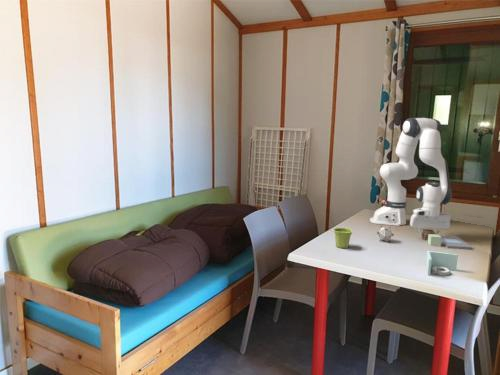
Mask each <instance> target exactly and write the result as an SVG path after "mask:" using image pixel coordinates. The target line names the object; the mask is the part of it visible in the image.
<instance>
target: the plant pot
mask: <svg viewBox="0 0 500 375" xmlns="http://www.w3.org/2000/svg"><path fill="white" fill-rule="evenodd" d="M333 232H334V238H335V246H336V248H339V249H342V248H343V249H348V248H349V244H350V239H351V236H352V233H353V230H352V229H349V228H345V227H336V228H333Z"/></svg>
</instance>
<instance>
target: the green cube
mask: <svg viewBox="0 0 500 375" xmlns="http://www.w3.org/2000/svg"><path fill="white" fill-rule="evenodd" d="M439 235H440V234H438V235H436V234H428V240H427V244H428V245H429V246H433V247H441V245H442V243H441V238H442V237H441V236H442V235H441V236H439Z"/></svg>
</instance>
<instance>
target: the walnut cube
mask: <svg viewBox="0 0 500 375" xmlns="http://www.w3.org/2000/svg"><path fill="white" fill-rule="evenodd" d="M422 232H423V236H421V238H422V239H423V240H424V241H428V234H435V233H436V231H434V229H427V228H422Z"/></svg>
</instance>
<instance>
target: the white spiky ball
mask: <svg viewBox="0 0 500 375" xmlns="http://www.w3.org/2000/svg"><path fill="white" fill-rule="evenodd" d="M391 228H392V227H391V226H390V227H386V226H385V227H383V226H382V225H380V229H379V231H377V233H376V234H377V235H378V237H379V242H381V241H386V242H389V243H390V242H391V238H392V236H394V235H395V234H394V233H393V232H392V229H391Z"/></svg>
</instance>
